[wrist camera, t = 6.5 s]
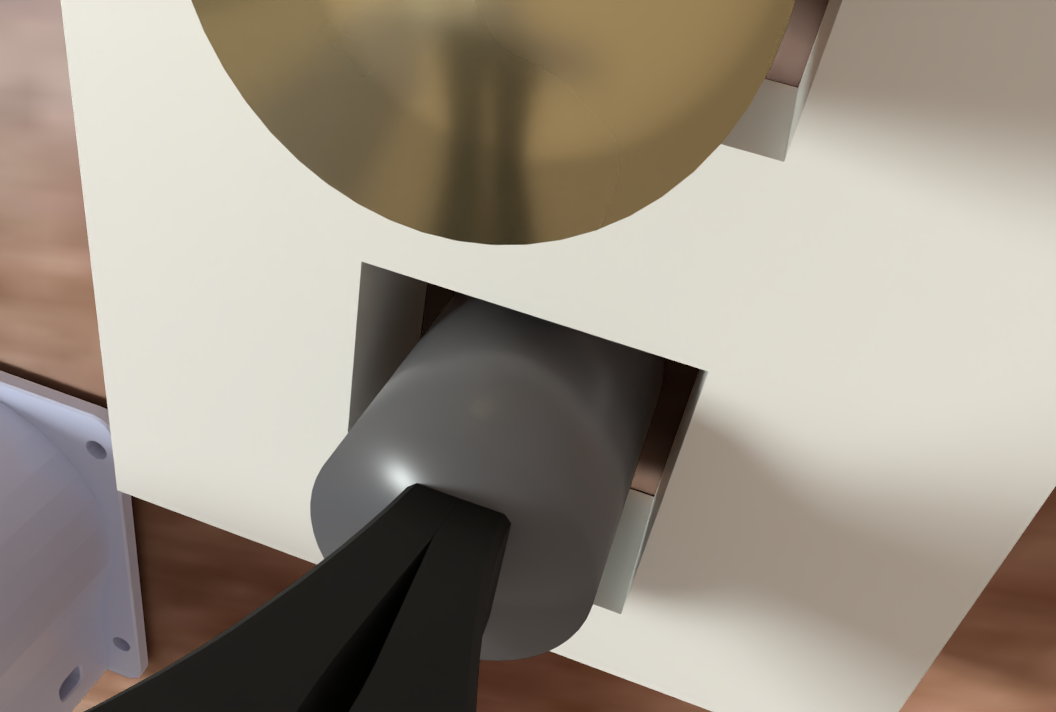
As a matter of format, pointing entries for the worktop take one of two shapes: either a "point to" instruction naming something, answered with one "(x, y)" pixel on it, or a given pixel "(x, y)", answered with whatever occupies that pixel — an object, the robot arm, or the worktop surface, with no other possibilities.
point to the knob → (506, 455)
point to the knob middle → (498, 101)
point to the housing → (637, 336)
